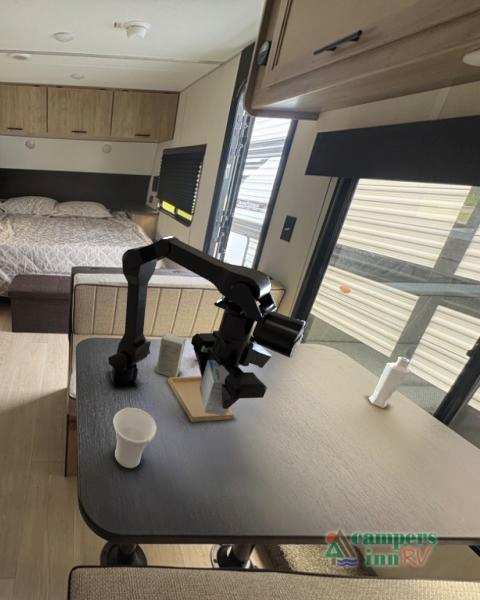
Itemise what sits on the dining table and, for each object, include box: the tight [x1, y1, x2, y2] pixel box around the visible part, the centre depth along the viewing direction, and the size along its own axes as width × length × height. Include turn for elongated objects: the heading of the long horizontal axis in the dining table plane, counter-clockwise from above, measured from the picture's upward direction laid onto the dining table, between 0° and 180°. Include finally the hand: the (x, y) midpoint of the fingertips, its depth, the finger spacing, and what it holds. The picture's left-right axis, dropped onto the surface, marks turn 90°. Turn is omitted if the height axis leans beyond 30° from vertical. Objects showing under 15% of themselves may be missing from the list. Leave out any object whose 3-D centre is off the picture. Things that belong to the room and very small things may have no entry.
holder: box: [167, 375, 235, 423], centre depth 83 cm, size 11×15×2 cm
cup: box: [112, 407, 158, 469], centre depth 63 cm, size 9×9×10 cm
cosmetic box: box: [155, 332, 187, 378], centre depth 91 cm, size 6×4×12 cm
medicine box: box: [200, 360, 229, 416], centre depth 66 cm, size 8×4×9 cm, turn 168°
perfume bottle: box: [368, 356, 412, 409], centre depth 82 cm, size 5×4×15 cm
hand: (214, 393), depth 67 cm, fingers closed on medicine box, 9 cm apart
